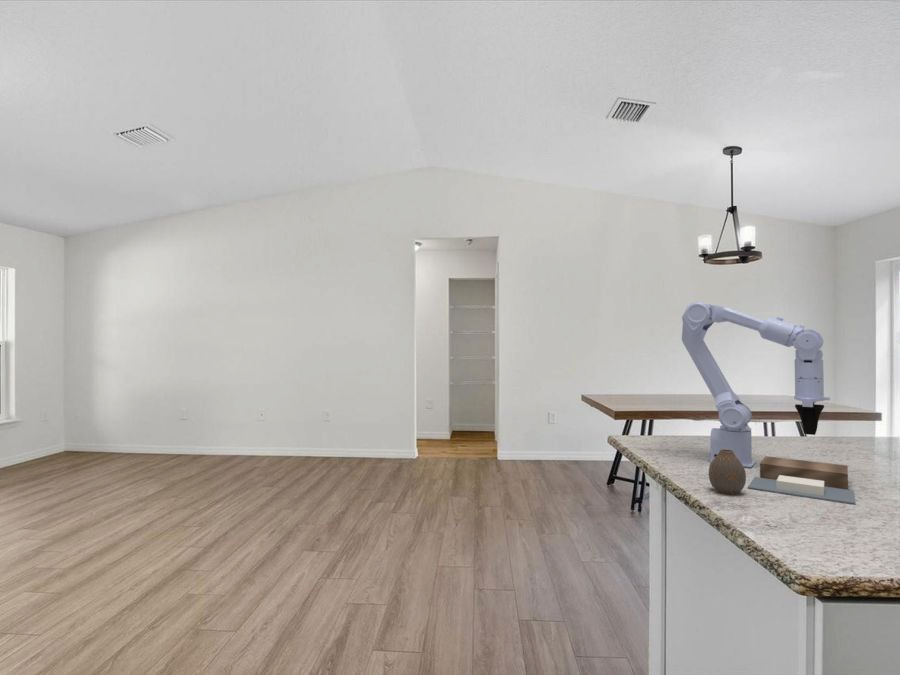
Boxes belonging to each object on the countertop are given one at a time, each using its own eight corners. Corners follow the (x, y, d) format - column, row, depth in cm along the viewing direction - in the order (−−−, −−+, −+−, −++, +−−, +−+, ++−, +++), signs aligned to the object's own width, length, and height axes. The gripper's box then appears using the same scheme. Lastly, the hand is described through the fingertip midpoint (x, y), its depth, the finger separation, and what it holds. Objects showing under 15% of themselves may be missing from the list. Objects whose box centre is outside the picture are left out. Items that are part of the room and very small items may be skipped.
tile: (779, 475, 110) (779, 483, 110) (776, 480, 105) (776, 489, 105) (824, 480, 105) (824, 489, 105) (823, 487, 100) (823, 495, 100)
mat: (747, 488, 107) (747, 487, 107) (754, 478, 115) (754, 476, 115) (855, 504, 95) (855, 503, 95) (854, 491, 104) (854, 490, 104)
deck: (760, 478, 115) (759, 463, 115) (765, 470, 123) (765, 456, 123) (848, 490, 105) (847, 474, 105) (847, 480, 113) (847, 465, 113)
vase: (704, 492, 104) (704, 450, 104) (714, 485, 109) (713, 445, 109) (741, 498, 99) (741, 455, 100) (749, 491, 104) (749, 450, 105)
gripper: (828, 380, 113) (829, 440, 112) (830, 377, 124) (831, 432, 124) (791, 379, 117) (792, 436, 117) (796, 376, 128) (797, 429, 128)
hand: (810, 434), depth 120 cm, fingers closed
